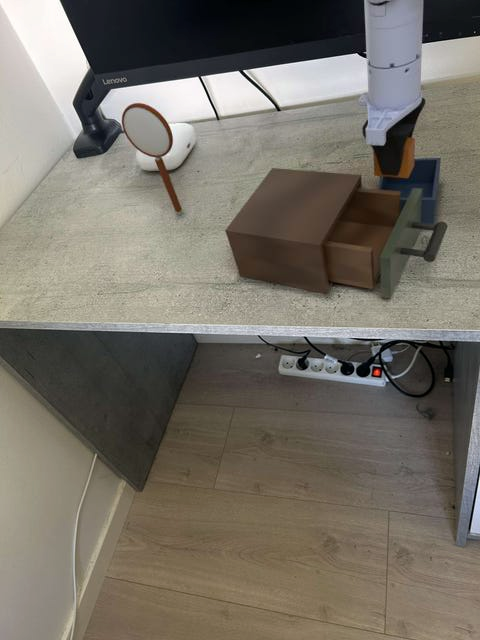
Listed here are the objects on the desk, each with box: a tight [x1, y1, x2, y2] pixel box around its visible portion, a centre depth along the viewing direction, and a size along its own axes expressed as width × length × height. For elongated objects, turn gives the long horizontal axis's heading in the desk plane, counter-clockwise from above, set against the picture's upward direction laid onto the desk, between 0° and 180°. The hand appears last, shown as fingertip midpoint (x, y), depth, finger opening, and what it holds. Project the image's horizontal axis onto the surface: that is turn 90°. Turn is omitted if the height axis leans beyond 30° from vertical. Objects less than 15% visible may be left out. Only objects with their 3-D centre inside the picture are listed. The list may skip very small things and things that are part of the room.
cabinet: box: [225, 167, 363, 295], centre depth 68 cm, size 14×15×9 cm
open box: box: [376, 157, 442, 224], centre depth 71 cm, size 10×8×4 cm
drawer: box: [323, 187, 449, 299], centre depth 63 cm, size 17×13×7 cm
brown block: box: [372, 137, 416, 178], centre depth 62 cm, size 4×3×4 cm, turn 63°
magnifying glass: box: [121, 102, 183, 216], centre depth 78 cm, size 9×2×20 cm, turn 65°
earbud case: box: [135, 122, 197, 172], centre depth 98 cm, size 10×13×5 cm
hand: (394, 166), depth 63 cm, fingers closed on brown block, 3 cm apart
